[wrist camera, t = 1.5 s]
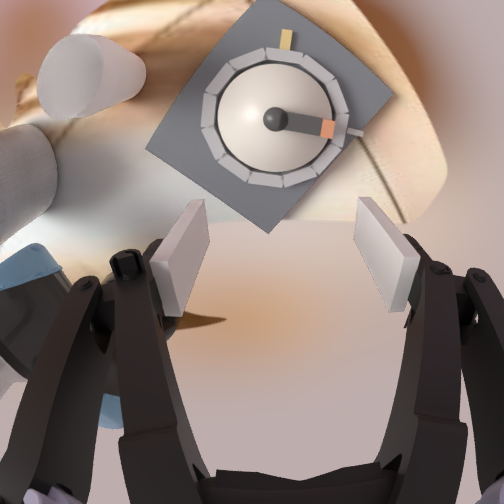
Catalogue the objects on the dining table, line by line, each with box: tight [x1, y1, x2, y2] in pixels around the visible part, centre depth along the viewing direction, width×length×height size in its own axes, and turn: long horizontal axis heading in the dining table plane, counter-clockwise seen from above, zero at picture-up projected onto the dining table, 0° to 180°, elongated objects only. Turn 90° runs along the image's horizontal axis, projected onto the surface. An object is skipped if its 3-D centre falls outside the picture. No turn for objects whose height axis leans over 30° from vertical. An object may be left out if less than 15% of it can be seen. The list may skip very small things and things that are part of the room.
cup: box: [37, 33, 146, 120], centre depth 23 cm, size 9×9×12 cm
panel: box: [145, 0, 394, 234], centre depth 29 cm, size 24×20×3 cm
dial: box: [218, 64, 335, 172], centre depth 27 cm, size 12×12×5 cm
